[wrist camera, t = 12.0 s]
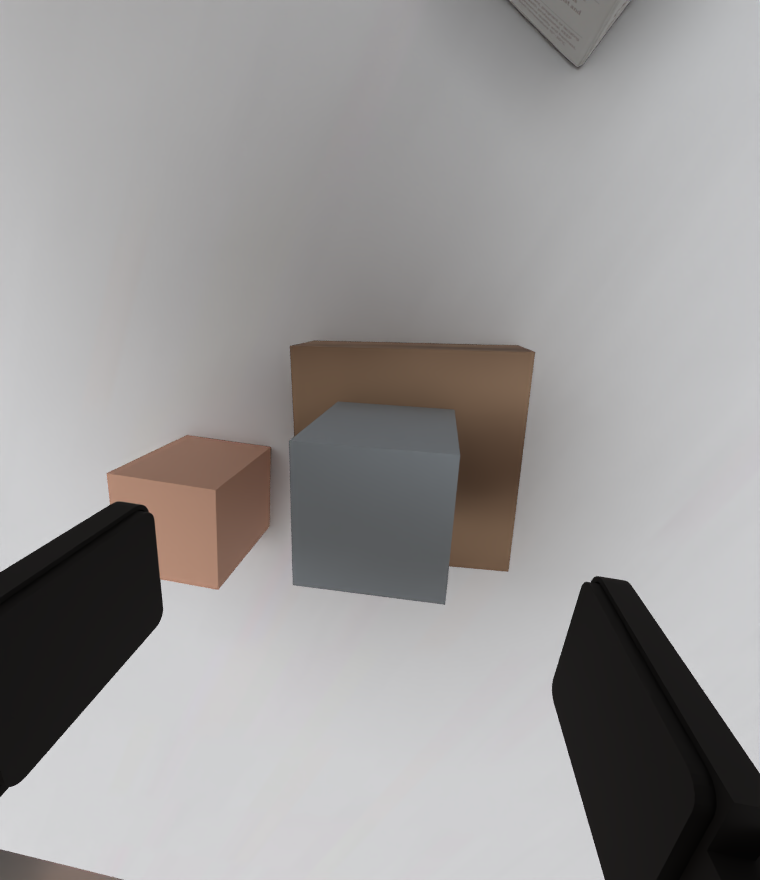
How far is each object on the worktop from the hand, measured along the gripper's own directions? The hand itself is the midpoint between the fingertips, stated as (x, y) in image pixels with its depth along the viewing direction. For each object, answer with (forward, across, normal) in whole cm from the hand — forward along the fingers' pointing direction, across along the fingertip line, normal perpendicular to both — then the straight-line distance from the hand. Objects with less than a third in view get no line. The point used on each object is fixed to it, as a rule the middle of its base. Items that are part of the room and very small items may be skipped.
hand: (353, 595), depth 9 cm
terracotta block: (+13, +10, +5) cm, 17 cm away
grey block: (+10, 0, +1) cm, 10 cm away
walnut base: (+14, 0, +1) cm, 14 cm away
